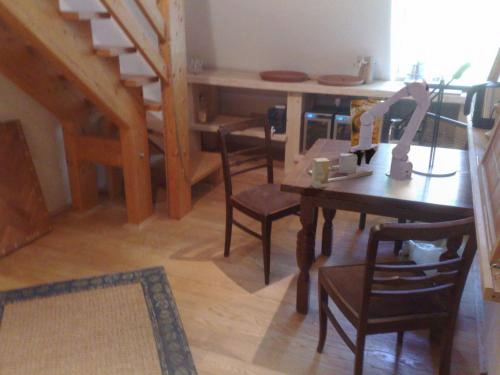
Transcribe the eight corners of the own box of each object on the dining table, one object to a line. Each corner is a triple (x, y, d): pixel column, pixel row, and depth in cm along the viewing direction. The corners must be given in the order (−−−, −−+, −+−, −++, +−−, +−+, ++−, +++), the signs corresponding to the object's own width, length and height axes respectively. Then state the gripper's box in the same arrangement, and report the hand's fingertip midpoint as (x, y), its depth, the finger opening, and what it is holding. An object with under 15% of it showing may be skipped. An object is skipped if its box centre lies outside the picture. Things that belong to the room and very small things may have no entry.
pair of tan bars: (372, 174, 206) (372, 171, 205) (347, 178, 201) (348, 175, 200) (355, 165, 217) (355, 162, 217) (331, 169, 212) (331, 166, 212)
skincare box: (314, 188, 189) (316, 161, 185) (310, 184, 193) (312, 158, 189) (328, 187, 191) (330, 160, 186) (324, 183, 195) (325, 157, 190)
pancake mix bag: (343, 149, 242) (348, 99, 231) (376, 148, 245) (382, 98, 234) (348, 153, 236) (352, 101, 225) (381, 151, 239) (387, 100, 228)
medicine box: (355, 171, 210) (356, 153, 207) (356, 174, 206) (357, 156, 202) (338, 170, 211) (339, 153, 207) (339, 173, 207) (340, 156, 203)
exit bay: (347, 178, 200) (347, 176, 200) (324, 182, 196) (325, 180, 195) (330, 169, 212) (330, 167, 212) (308, 172, 208) (308, 170, 207)
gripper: (372, 133, 211) (369, 160, 217) (347, 136, 206) (345, 163, 211) (382, 137, 205) (379, 164, 211) (356, 140, 200) (354, 168, 205)
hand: (362, 164), depth 210 cm, fingers open, 5 cm apart
